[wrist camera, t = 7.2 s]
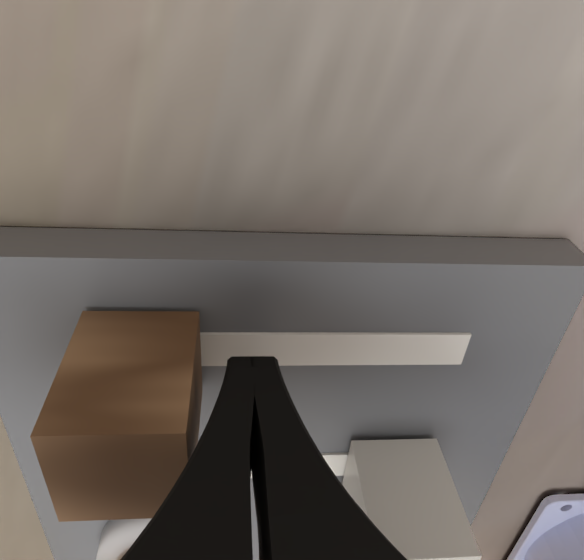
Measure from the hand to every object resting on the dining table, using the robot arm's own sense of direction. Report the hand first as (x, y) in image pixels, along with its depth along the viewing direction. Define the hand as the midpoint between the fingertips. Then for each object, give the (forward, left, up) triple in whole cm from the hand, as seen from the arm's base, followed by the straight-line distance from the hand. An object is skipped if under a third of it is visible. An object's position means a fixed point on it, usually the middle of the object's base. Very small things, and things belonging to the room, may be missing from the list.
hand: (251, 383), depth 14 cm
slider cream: (-5, +6, -1) cm, 8 cm away
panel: (-1, +5, -3) cm, 6 cm away
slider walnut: (+3, 0, -1) cm, 3 cm away
